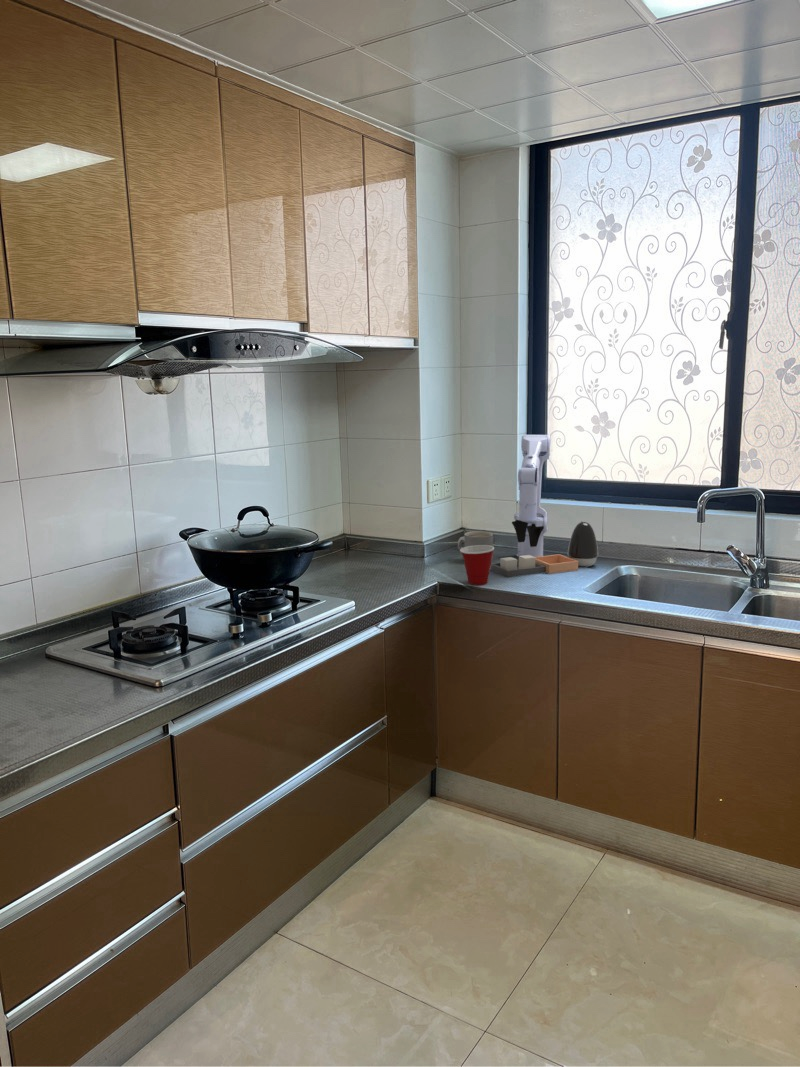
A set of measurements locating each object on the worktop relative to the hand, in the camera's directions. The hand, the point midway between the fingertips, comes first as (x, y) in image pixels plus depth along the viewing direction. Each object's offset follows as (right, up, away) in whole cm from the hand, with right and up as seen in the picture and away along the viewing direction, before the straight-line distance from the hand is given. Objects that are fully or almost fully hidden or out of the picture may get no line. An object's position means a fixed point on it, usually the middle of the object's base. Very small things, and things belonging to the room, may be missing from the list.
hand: (527, 544), depth 266 cm
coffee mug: (-16, -6, +18) cm, 25 cm away
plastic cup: (-18, -13, -13) cm, 25 cm away
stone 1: (-6, -9, -1) cm, 11 cm away
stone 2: (0, -9, +2) cm, 9 cm away
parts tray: (-3, -10, +1) cm, 10 cm away
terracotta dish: (+10, -9, +4) cm, 14 cm away
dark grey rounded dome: (+20, -8, +9) cm, 24 cm away
